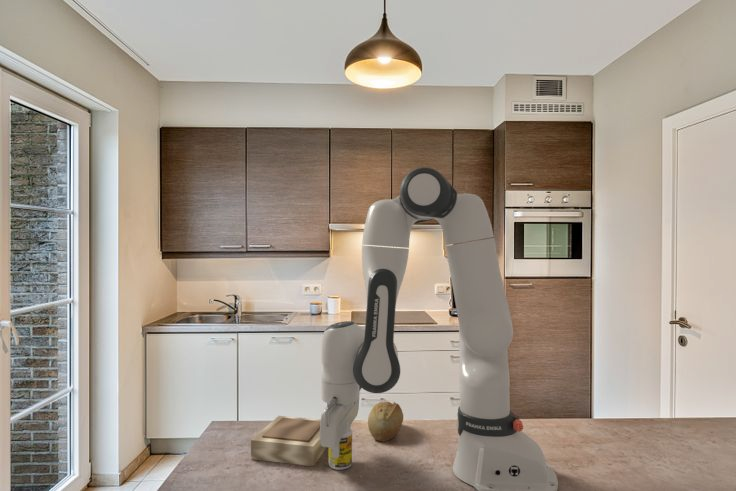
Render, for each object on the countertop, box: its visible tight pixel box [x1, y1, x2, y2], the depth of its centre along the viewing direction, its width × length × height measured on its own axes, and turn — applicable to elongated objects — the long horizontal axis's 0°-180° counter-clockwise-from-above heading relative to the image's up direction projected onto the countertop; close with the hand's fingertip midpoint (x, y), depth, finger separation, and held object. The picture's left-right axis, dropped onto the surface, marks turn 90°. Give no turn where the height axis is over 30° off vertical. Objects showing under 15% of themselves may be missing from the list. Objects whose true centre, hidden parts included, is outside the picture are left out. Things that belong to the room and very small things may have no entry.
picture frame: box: [250, 415, 328, 467], centre depth 115 cm, size 16×16×5 cm
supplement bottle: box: [327, 422, 353, 471], centre depth 106 cm, size 6×6×10 cm
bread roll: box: [367, 401, 404, 442], centre depth 125 cm, size 10×15×8 cm, turn 172°
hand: (340, 449), depth 106 cm, fingers closed on supplement bottle, 6 cm apart
